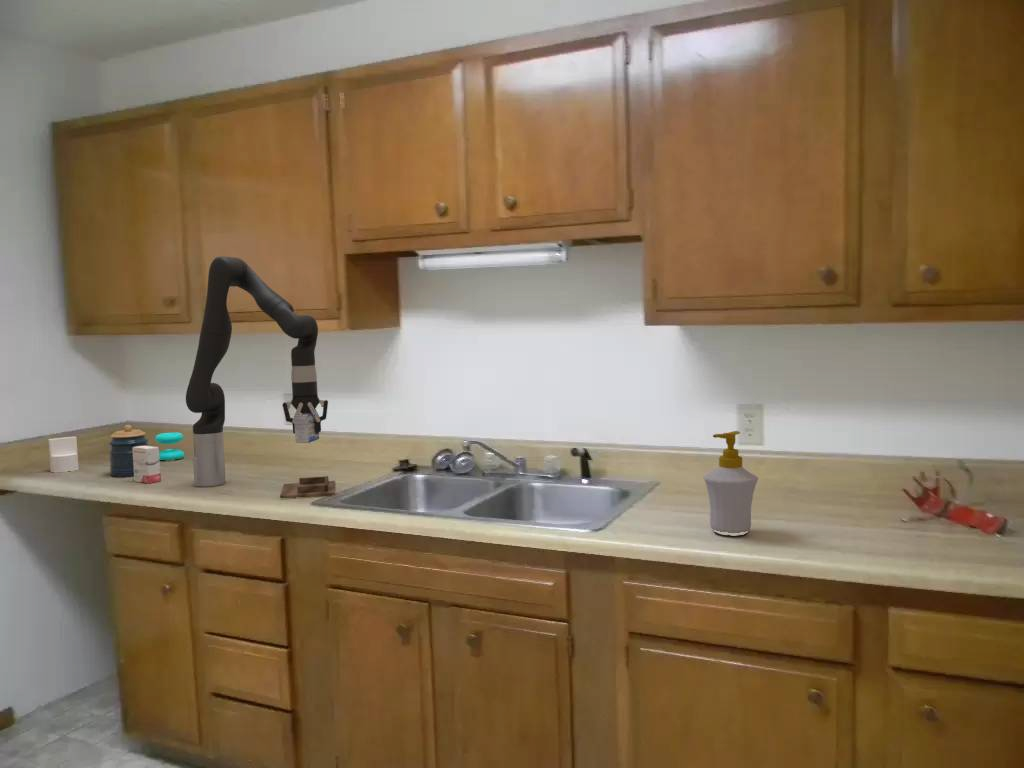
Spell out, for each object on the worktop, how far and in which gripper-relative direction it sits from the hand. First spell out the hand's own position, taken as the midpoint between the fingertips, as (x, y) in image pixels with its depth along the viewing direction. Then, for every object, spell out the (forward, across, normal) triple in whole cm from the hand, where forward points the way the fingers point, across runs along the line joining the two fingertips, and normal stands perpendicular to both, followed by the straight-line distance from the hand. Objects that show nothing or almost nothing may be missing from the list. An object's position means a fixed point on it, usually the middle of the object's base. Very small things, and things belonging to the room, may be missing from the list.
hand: (307, 434), depth 253 cm
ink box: (+17, +55, -33) cm, 66 cm away
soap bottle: (+20, -102, +78) cm, 130 cm away
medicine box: (+2, 0, 0) cm, 2 cm away
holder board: (+18, 0, 0) cm, 18 cm away
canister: (+17, +64, -49) cm, 82 cm away
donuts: (+17, +56, -77) cm, 97 cm away
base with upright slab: (+17, +90, -64) cm, 112 cm away
